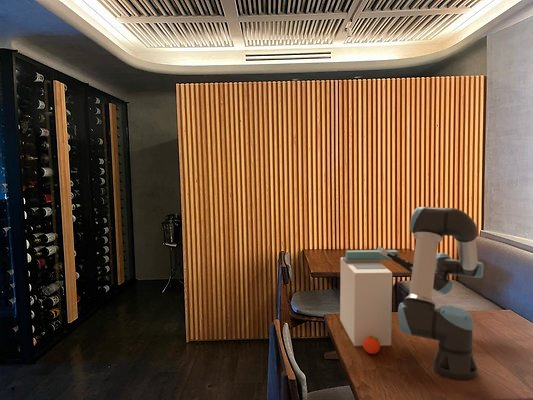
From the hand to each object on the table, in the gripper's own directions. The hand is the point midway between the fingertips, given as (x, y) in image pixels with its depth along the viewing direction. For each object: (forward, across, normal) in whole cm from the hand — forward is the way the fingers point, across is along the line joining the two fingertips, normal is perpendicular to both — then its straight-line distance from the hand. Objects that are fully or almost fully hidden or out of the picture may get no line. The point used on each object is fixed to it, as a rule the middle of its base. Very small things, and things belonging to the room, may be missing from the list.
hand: (379, 249), depth 192 cm
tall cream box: (-11, -6, -37) cm, 39 cm away
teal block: (+1, 0, -6) cm, 6 cm away
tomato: (-10, -28, -38) cm, 48 cm away
